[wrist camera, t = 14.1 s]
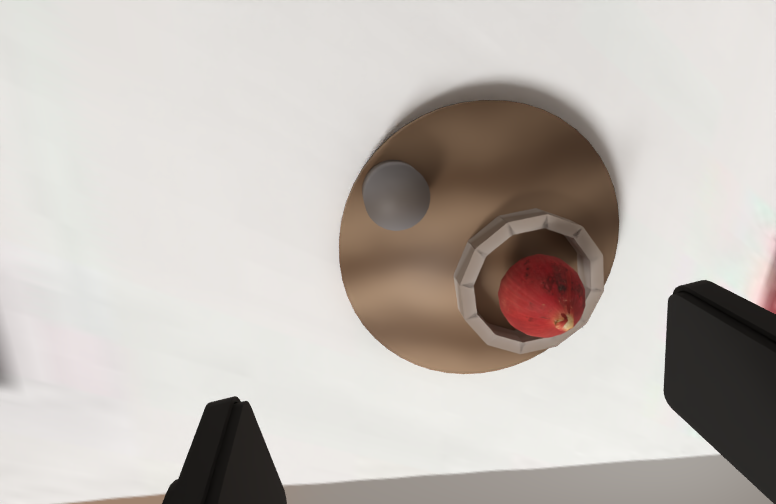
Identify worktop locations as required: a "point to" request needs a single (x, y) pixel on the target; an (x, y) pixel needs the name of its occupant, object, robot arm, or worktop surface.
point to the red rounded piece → (542, 296)
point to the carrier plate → (472, 230)
